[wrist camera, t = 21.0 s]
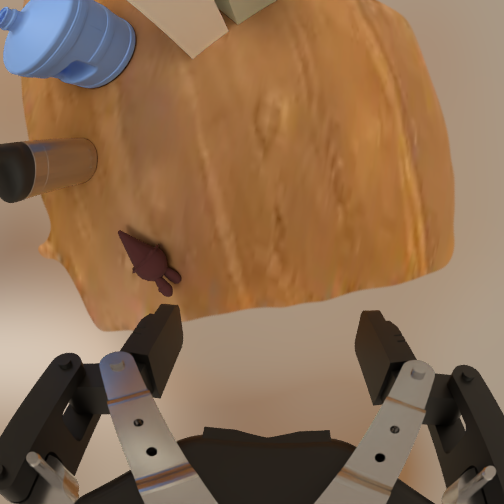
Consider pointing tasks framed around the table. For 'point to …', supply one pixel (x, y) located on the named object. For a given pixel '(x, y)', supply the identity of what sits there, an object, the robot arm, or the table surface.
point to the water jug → (67, 41)
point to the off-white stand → (185, 21)
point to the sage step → (241, 8)
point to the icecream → (149, 263)
